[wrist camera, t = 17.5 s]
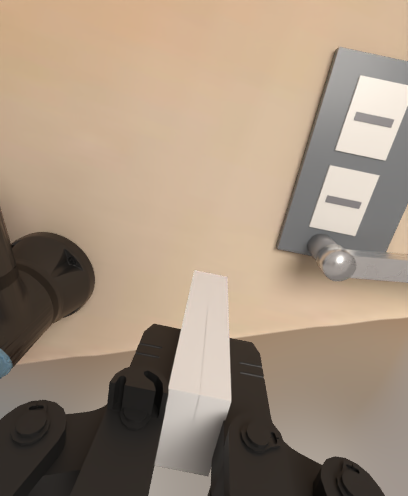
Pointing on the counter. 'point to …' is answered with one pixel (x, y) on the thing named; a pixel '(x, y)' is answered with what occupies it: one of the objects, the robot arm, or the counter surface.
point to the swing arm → (362, 264)
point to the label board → (353, 159)
